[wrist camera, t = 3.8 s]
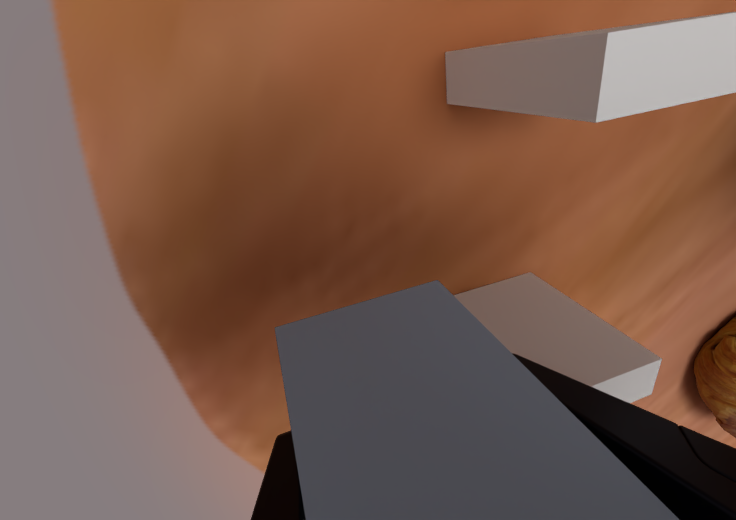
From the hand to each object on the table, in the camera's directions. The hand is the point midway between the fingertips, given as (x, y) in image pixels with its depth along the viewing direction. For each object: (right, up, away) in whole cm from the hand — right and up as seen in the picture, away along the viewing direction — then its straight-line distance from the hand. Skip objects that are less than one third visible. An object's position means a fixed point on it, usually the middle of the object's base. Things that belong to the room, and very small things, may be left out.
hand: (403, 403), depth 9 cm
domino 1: (-1, +1, +3) cm, 3 cm away
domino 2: (+5, +12, +8) cm, 15 cm away
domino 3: (+6, +1, +13) cm, 15 cm away
